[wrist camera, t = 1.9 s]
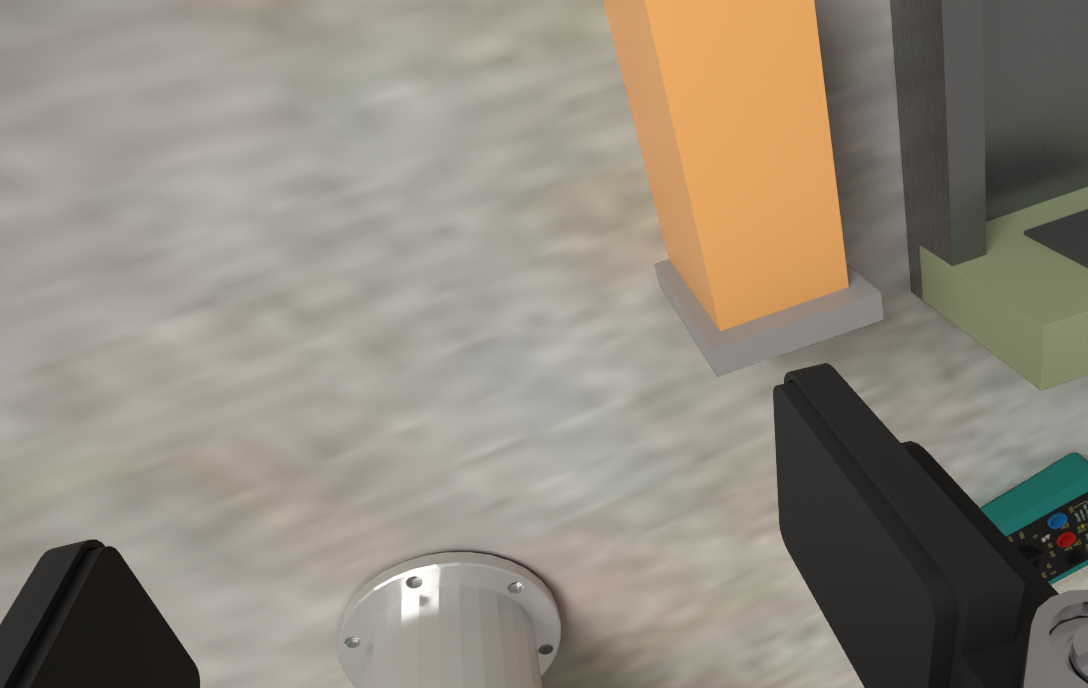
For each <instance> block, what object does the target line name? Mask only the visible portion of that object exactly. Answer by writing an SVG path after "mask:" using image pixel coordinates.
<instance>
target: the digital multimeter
mask: <svg viewBox="0 0 1088 688" xmlns="http://www.w3.org/2000/svg"><path fill="white" fill-rule="evenodd" d="M980 509H981V510H982V511H983V512H984V514H985V515H986V516H987V517H988V518H989V519H990V520H991V521H992V522H993V523H994V524H995V525H996V526H997V528H998V529H999V530H1000V531H1001V532H1002V533H1003V534H1004V535H1005V536H1006V537H1007V538H1008V539H1009V541H1010V542H1011V543H1012V544H1013V545H1014V546H1015V547H1016V548H1017V549H1018V550H1019V551H1020V552H1021V554H1022V555H1023V556H1024V557H1025V558H1026V559H1027V560H1028V561H1029V562H1030V563H1031V564H1032V565H1033V567H1034V568H1035V569H1036V570H1037V571H1038V572H1039V573H1040V574H1041V575H1042V576H1043V577H1044V578H1045V580H1046V581H1047V582H1048V583H1049V584H1050V585H1051V584H1053V583H1055V582H1057V581H1059V580H1061V579H1062V578H1064V577H1066V576H1068V575H1070V574H1072V573H1074V572H1076V571H1078V570H1079V569H1081V568H1083V567H1085V566H1087V565H1088V461H1087V460H1086V459H1084V458H1083V457H1082V456H1081V455H1079V454H1078V453H1072V454H1069V455H1067V456H1065V457H1064V458H1062V459H1060V460H1059V461H1057V462H1055V463H1054V464H1052V465H1050V466H1049V467H1047V468H1046V469H1044V470H1042V471H1041V472H1039V473H1038V474H1036V475H1034V476H1033V477H1031V478H1030V479H1028V480H1026V481H1025V482H1023V483H1021V484H1020V485H1018V486H1016V487H1014V488H1013V489H1011V490H1009V491H1008V492H1006V493H1004V494H1003V495H1001V496H999V497H998V498H996V499H994V500H993V501H991V502H989V503H988V504H986V505H984V506H983V507H981V508H980ZM1036 545H1037V546H1036Z"/></svg>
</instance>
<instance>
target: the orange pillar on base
mask: <svg viewBox="0 0 1088 688" xmlns="http://www.w3.org/2000/svg"><path fill="white" fill-rule="evenodd" d="M603 2H604V6H605V10H606V14H607V18H608V22H609V26H610V30H611V34H612V38H613V42H614V45H615V49H616V53H617V57H618V61H619V65H620V69H621V73H622V77H623V81H624V85H625V89H626V93H627V96H628V100H629V104H630V108H631V112H632V116H633V120H634V124H635V128H636V132H637V136H638V140H639V144H640V147H641V151H642V155H643V159H644V163H645V167H646V171H647V175H648V179H649V183H650V187H651V191H652V195H653V198H654V202H655V206H656V210H657V214H658V218H659V222H660V226H661V230H662V234H663V238H664V242H665V246H666V249H667V253H668V257H669V259H668V260H665V261H662V262H660V263H657V264H654V265H655V269H656V273H657V276H658V280H659V284H660V287H661V289H662V290H663V292H664V293H665V295H666V297H667V298H668V300H669V301H670V303H671V304H672V306H673V308H674V309H675V311H676V312H677V314H678V316H679V317H680V319H681V320H682V322H683V323H684V325H685V327H686V328H687V330H688V331H689V333H690V335H691V336H692V338H693V339H694V341H695V342H696V344H697V346H698V347H699V349H700V350H701V352H702V353H703V355H704V357H705V358H706V360H707V361H708V363H709V365H710V366H711V368H712V369H713V371H714V372H715V374H716V376H717V377H718V376H721V375H724V374H727V373H730V372H733V371H736V370H739V369H742V368H744V367H747V366H750V365H753V364H756V363H759V362H762V361H765V360H768V359H771V358H774V357H777V356H780V355H782V354H785V353H788V352H791V351H794V350H797V349H800V348H803V347H806V346H809V345H812V344H815V343H818V342H820V341H823V340H826V339H829V338H832V337H835V336H838V335H841V334H844V333H847V332H850V331H853V330H856V329H858V328H861V327H864V326H867V325H870V324H873V323H876V322H879V321H882V320H884V318H883V307H882V297H881V292H880V291H879V290H878V289H877V288H875V287H874V286H873V285H872V284H870V283H869V282H868V281H867V280H866V279H864V278H863V277H862V276H861V275H859V274H858V273H857V272H856V271H855V270H853V269H852V268H851V267H850V266H848V265H847V264H846V259H845V251H844V242H843V234H842V226H841V218H840V209H839V201H838V193H837V185H836V176H835V168H834V160H833V152H832V143H831V135H830V127H829V119H828V110H827V102H826V94H825V86H824V77H823V69H822V61H821V53H820V44H819V36H818V28H817V20H816V11H815V3H814V0H603Z"/></svg>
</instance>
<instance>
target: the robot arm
mask: <svg viewBox="0 0 1088 688" xmlns="http://www.w3.org/2000/svg"><path fill="white" fill-rule="evenodd" d="M773 401H774V422H775V443H776V464H777V485H778V507H779V524H780V530H781V534H782V538H783V541H784V543H785V546H786V548H787V550H788V552H789V554H790V555H791V557H792V559H793V561H794V563H795V564H796V566H797V568H798V570H799V571H800V573H801V575H802V577H803V579H804V580H805V582H806V584H807V586H808V587H809V589H810V591H811V593H812V595H813V596H814V598H815V600H816V602H817V603H818V605H819V607H820V609H821V611H822V612H823V614H824V616H825V618H826V620H827V621H828V623H829V625H830V627H831V628H832V630H833V632H834V634H835V636H836V637H837V639H838V641H839V643H840V644H841V646H842V648H843V650H844V652H845V653H846V655H847V657H848V659H849V660H850V662H851V664H852V666H853V668H854V669H855V671H856V673H857V675H858V676H859V678H860V680H861V682H862V684H863V685H864V687H865V688H1088V590H1076V591H1068V592H1065V593H1062V594H1058V593H1057V591H1056V590H1055V589H1054V588H1053V587H1052V586H1051V585H1050V584H1049V583H1048V582H1047V581H1046V580H1045V578H1044V577H1043V576H1042V575H1041V574H1040V573H1039V572H1038V571H1037V570H1036V569H1035V568H1034V567H1033V565H1032V564H1031V563H1030V562H1029V561H1028V560H1027V559H1026V558H1025V557H1024V556H1023V555H1022V554H1021V552H1020V551H1019V550H1018V549H1017V548H1016V547H1015V546H1014V545H1013V544H1012V543H1011V542H1010V541H1009V539H1008V538H1007V537H1006V536H1005V535H1004V534H1003V533H1002V532H1001V531H1000V530H999V529H998V528H997V526H996V525H995V524H994V523H993V522H992V521H991V520H990V519H989V518H988V517H987V516H986V515H985V514H984V512H983V511H982V510H981V509H980V508H979V507H978V506H977V505H976V504H975V503H974V502H973V501H972V499H971V498H970V497H969V496H968V495H967V494H966V493H965V492H964V491H963V490H962V489H961V488H960V486H959V485H958V484H957V483H956V482H955V481H954V480H953V479H952V478H951V477H950V476H949V475H948V473H947V472H946V471H945V470H944V469H943V468H942V467H941V466H940V465H939V464H938V463H937V462H936V460H935V459H934V458H933V457H932V456H931V455H930V454H929V453H928V452H927V451H926V450H925V449H924V448H923V447H921V446H920V445H919V444H918V443H915V442H912V441H908V442H904V443H900V442H899V441H898V440H897V439H896V437H895V436H894V435H893V434H892V433H891V432H890V431H889V430H888V428H887V427H886V426H885V425H884V424H883V423H882V422H881V421H880V419H879V418H878V417H877V416H876V415H875V414H874V413H873V412H872V410H871V409H870V408H869V407H868V406H867V405H866V404H865V403H864V401H863V400H862V399H861V398H860V397H859V396H858V395H857V394H856V392H855V391H854V390H853V389H852V388H851V387H850V386H849V385H848V383H847V382H846V381H845V380H844V379H843V378H842V377H841V376H840V374H839V373H838V372H837V371H836V370H835V369H834V368H833V367H832V366H831V365H830V364H827V363H824V364H820V365H816V366H811V367H807V368H803V369H799V370H795V371H791V372H788V373H786V375H785V378H784V384H781V385H777V386H775V387H774V390H773ZM560 641H561V622H560V617H559V612H558V607H557V604H556V602H555V600H554V598H553V596H552V593H551V592H550V590H549V589H548V588H547V587H546V586H545V584H544V583H543V582H542V581H541V580H540V579H539V578H538V577H536V576H535V575H534V574H533V573H531V572H530V571H529V570H527V569H526V568H524V567H522V566H520V565H518V564H516V563H514V562H512V561H509V560H506V559H502V558H499V557H496V556H492V555H487V554H480V553H473V552H445V553H439V554H432V555H425V556H422V557H418V558H415V559H411V560H408V561H405V562H402V563H400V564H398V565H396V566H394V567H391V568H389V569H387V570H385V571H383V572H382V573H380V574H379V575H377V576H376V577H375V578H373V579H372V580H370V581H369V582H367V583H366V584H365V585H364V586H363V587H362V588H361V589H360V590H359V591H358V592H357V593H356V594H355V595H354V597H353V598H352V600H351V601H350V603H349V605H348V606H347V608H346V609H345V611H344V614H343V617H342V620H341V623H340V628H339V636H338V655H339V661H340V663H341V666H342V668H343V671H344V673H345V675H346V676H347V677H348V679H349V680H350V681H351V683H352V684H353V685H354V686H355V687H356V688H543V685H542V678H541V677H542V675H543V674H544V673H545V672H546V671H547V669H548V668H549V667H550V666H551V664H552V662H553V660H554V658H555V656H556V654H557V652H558V649H559V645H560ZM0 688H200V676H199V672H198V669H197V667H196V665H195V663H194V662H193V660H192V659H191V657H190V656H189V654H188V653H187V651H186V650H185V648H184V647H183V645H182V644H181V642H180V641H179V640H178V638H177V637H176V635H175V634H174V632H173V631H172V629H171V628H170V626H169V625H168V623H167V622H166V621H165V619H164V618H163V616H162V615H161V613H160V612H159V610H158V609H157V607H156V606H155V604H154V603H153V601H152V600H151V599H150V597H149V596H148V594H147V593H146V591H145V590H144V588H143V587H142V585H141V584H140V582H139V581H138V579H137V578H136V577H135V575H134V574H133V572H132V571H131V569H130V568H129V566H128V565H127V563H126V562H125V560H124V559H123V558H122V556H121V555H120V553H119V552H118V551H117V550H116V549H115V548H113V547H111V546H107V547H105V546H104V544H103V543H102V542H100V541H98V540H86V541H82V542H78V543H74V544H70V545H65V546H61V547H57V548H53V549H50V550H48V551H47V552H45V553H44V555H43V556H42V557H41V558H40V560H39V561H38V563H37V565H36V566H35V568H34V570H33V571H32V573H31V575H30V576H29V578H28V580H27V581H26V583H25V585H24V586H23V588H22V590H21V591H20V593H19V595H18V596H17V598H16V600H15V601H14V603H13V604H12V606H11V608H10V609H9V611H8V613H7V614H6V616H5V618H4V619H3V621H2V623H1V624H0Z"/></svg>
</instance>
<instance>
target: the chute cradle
mask: <svg viewBox="0 0 1088 688" xmlns="http://www.w3.org/2000/svg"><path fill="white" fill-rule="evenodd" d="M890 3H891V17H892V31H893V44H894V58H895V72H896V86H897V99H898V113H899V127H900V141H901V154H902V168H903V182H904V196H905V209H906V223H907V237H908V251H909V264H910V278H911V292H913V293H914V294H915V295H917V296H918V297H919V298H921V299H922V300H923V301H925V302H926V303H927V304H928V305H930V306H931V307H932V308H934V309H935V310H936V311H938V312H939V313H940V314H942V315H943V316H944V317H945V318H947V319H948V320H949V321H951V322H952V323H953V324H955V325H956V326H957V327H959V328H960V329H961V330H962V331H964V332H965V333H966V334H968V335H969V336H970V337H972V338H973V339H974V340H976V341H977V342H978V343H980V344H981V345H982V346H983V347H985V348H986V349H987V350H989V351H990V352H991V353H993V354H994V355H995V356H997V357H998V358H999V359H1000V360H1002V361H1003V362H1004V363H1006V364H1007V365H1008V366H1010V367H1011V368H1012V369H1014V370H1015V371H1016V372H1017V373H1019V374H1020V375H1021V376H1023V377H1024V378H1025V379H1027V380H1028V381H1029V382H1031V383H1032V384H1033V385H1034V386H1036V387H1037V388H1038V389H1040V390H1044V389H1047V388H1050V387H1053V386H1056V385H1059V384H1062V383H1065V382H1068V381H1071V380H1074V379H1077V378H1080V377H1083V376H1086V375H1088V0H890Z"/></svg>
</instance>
